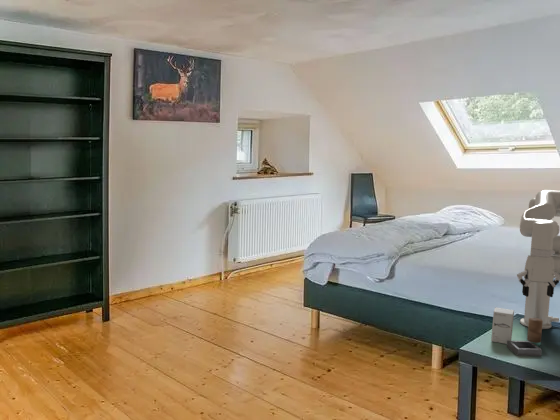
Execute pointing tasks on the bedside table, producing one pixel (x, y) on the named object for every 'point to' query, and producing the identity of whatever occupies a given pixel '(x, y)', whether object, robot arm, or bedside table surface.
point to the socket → (524, 348)
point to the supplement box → (502, 325)
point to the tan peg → (535, 331)
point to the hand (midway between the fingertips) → (537, 296)
